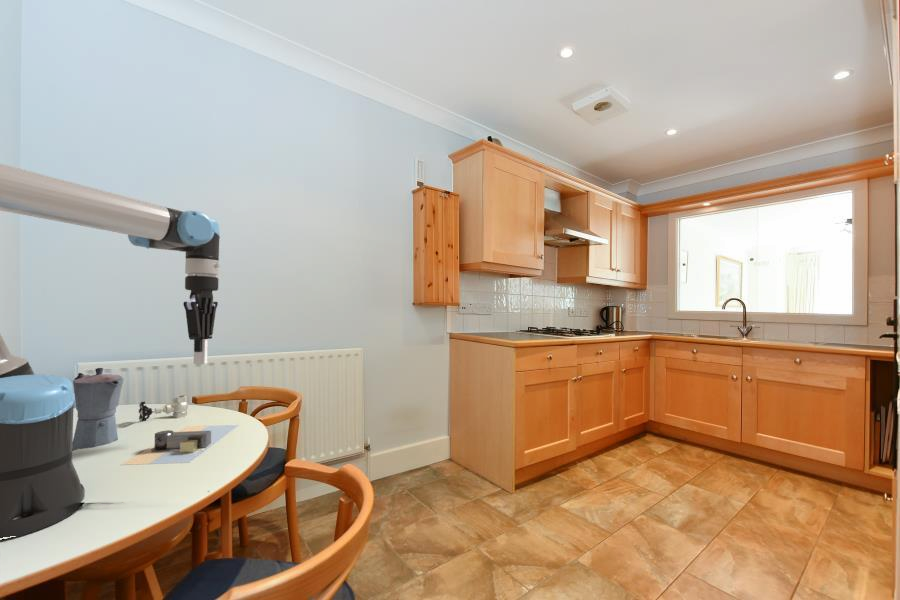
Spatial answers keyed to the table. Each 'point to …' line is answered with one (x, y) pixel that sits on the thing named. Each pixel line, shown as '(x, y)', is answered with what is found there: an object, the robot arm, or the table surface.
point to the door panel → (174, 454)
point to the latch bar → (180, 439)
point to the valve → (166, 408)
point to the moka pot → (96, 409)
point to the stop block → (188, 446)
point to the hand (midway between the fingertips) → (200, 363)
